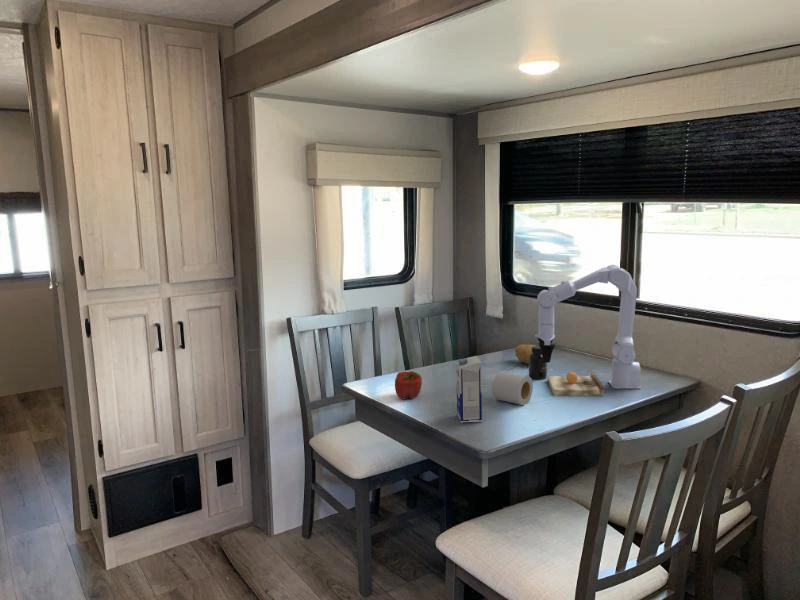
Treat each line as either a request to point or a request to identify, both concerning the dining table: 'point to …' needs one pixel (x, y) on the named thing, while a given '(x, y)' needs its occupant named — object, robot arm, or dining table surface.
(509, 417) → the dining table surface
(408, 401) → the dining table surface
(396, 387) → the vegetable
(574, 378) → the ball
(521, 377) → the toilet paper
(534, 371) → the supplement bottle
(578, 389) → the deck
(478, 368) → the milk carton
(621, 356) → the robot arm
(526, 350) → the potato
